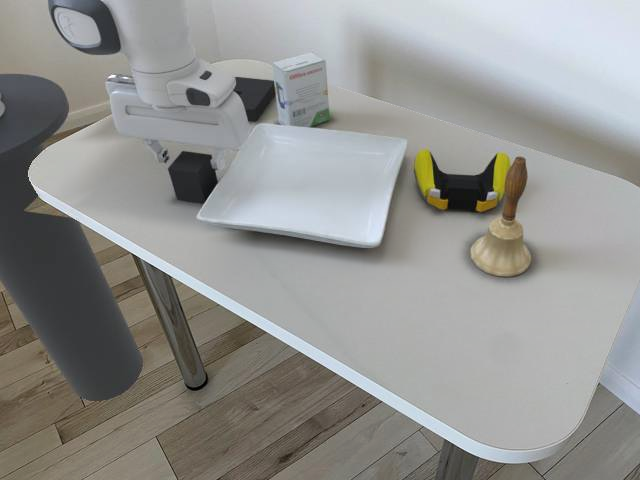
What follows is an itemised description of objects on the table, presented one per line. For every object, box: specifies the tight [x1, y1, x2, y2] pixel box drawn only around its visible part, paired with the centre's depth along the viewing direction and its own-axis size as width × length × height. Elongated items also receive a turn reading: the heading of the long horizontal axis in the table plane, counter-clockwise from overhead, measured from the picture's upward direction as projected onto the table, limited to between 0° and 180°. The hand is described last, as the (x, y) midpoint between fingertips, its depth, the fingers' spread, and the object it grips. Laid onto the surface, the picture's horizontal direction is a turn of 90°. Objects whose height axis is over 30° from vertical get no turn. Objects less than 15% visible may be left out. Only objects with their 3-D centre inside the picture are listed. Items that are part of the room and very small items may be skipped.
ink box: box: [271, 52, 330, 128], centre depth 100 cm, size 9×5×12 cm, turn 123°
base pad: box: [233, 76, 276, 122], centre depth 110 cm, size 16×12×2 cm
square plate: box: [196, 122, 409, 249], centre depth 87 cm, size 27×27×4 cm
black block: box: [167, 150, 219, 205], centre depth 87 cm, size 5×5×6 cm
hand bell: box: [469, 156, 532, 278], centre depth 72 cm, size 8×8×16 cm
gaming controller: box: [413, 148, 512, 213], centre depth 86 cm, size 15×6×10 cm
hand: (191, 164), depth 85 cm, fingers open, 8 cm apart
